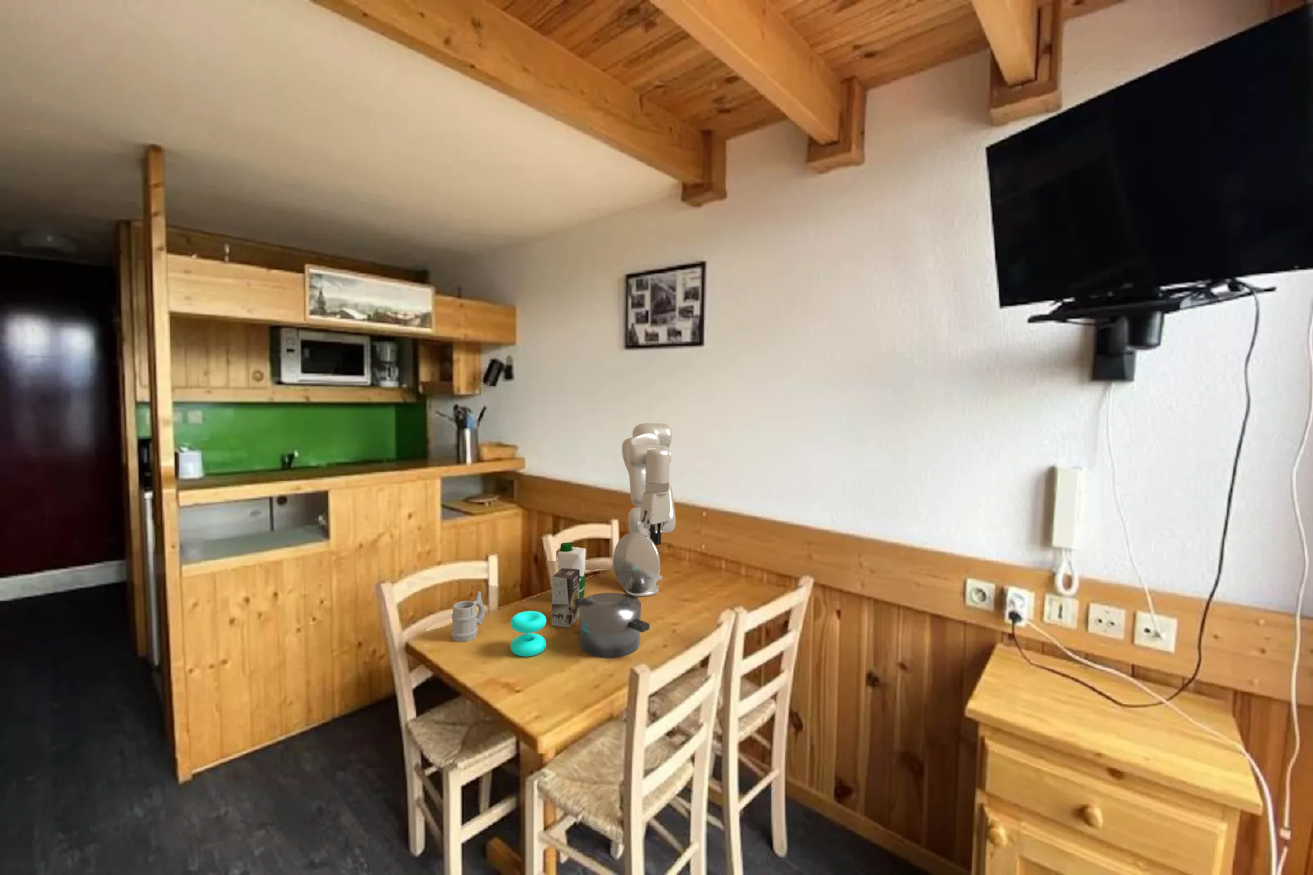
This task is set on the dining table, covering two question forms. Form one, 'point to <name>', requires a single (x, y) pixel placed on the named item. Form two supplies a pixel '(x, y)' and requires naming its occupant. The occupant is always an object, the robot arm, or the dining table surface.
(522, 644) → the donuts
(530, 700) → the dining table surface
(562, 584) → the coffee box
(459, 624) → the mug
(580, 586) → the milk carton
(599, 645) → the cooker pot
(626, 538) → the lid
